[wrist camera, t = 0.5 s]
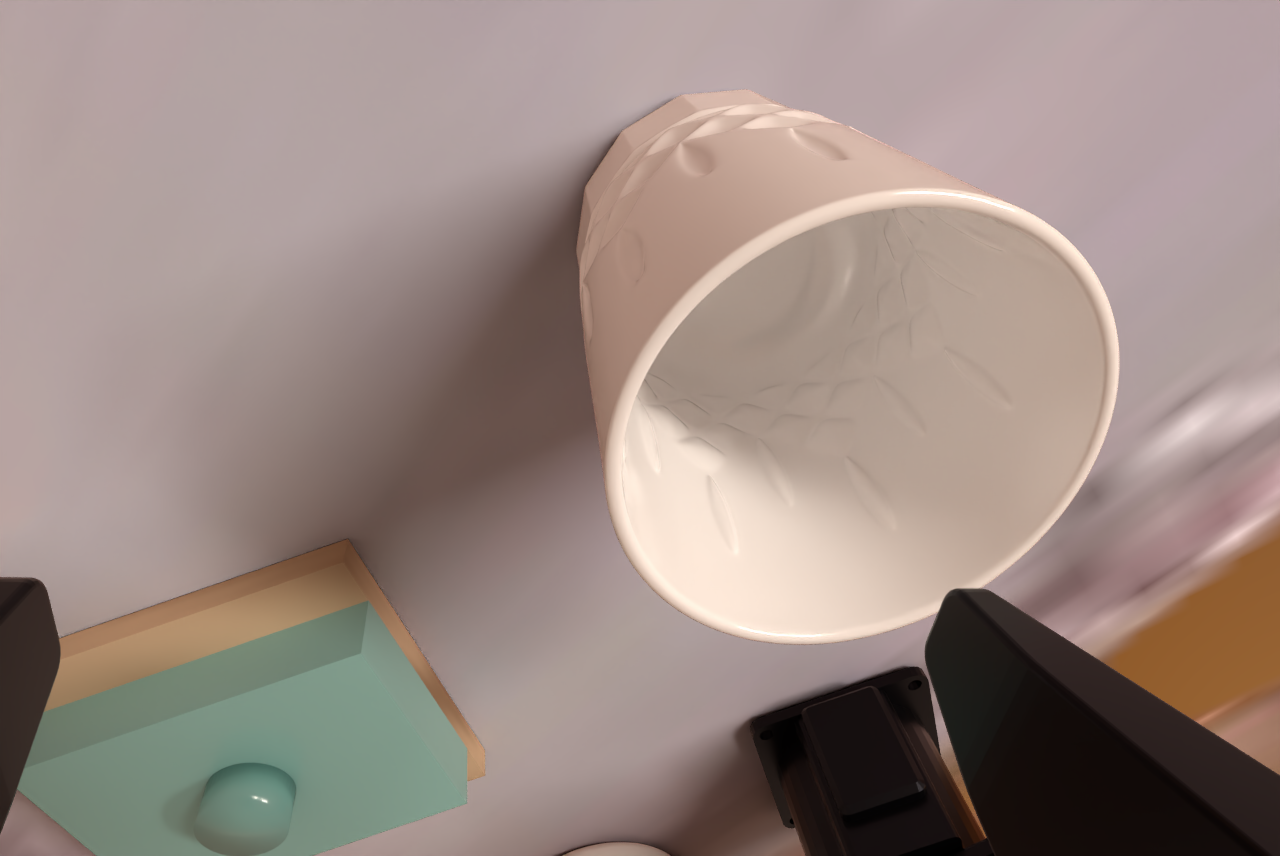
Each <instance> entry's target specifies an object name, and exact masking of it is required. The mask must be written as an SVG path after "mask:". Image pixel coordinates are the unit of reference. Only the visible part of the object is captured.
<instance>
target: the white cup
mask: <svg viewBox="0 0 1280 856" xmlns="http://www.w3.org/2000/svg"><path fill="white" fill-rule="evenodd" d="M576 254H577V260H578V265H579V270H580V308H581V315H582V321H583V337H584V347H585V355H586V363H587V370H588V376H589V383H590V389H591V396H592V402H593V409H594V416H595V422H596V429H597V435H598V442H599V449H600V456H601V463H602V470H603V478H604V485H605V492H606V499H607V505H608V509H609V513H610V517H611V521H612V524H613V527H614V530H615V533H616V535H617V538H618V540H619V542H620V544H621V546H622V548H623V550H624V552H625V554H626V556H627V557H628V559H629V561H630V562H631V564H632V565H633V567H634V568H635V570H636V571H637V572H638V574H639V575H640V576H641V577H642V579H643V580H644V581H645V582H646V583H647V584H648V585H649V586H650V587H651V589H652V590H653V591H655V592H656V593H657V594H658V595H659V596H660V597H661V598H662V599H663V600H665V601H666V602H667V603H668V604H670V605H671V606H672V607H674V608H675V609H677V610H678V611H680V612H681V613H683V614H685V615H686V616H688V617H690V618H691V619H693V620H695V621H697V622H699V623H701V624H703V625H706V626H708V627H710V628H713V629H715V630H718V631H721V632H723V633H727V634H730V635H733V636H737V637H741V638H745V639H749V640H754V641H760V642H767V643H775V644H789V645H812V644H827V643H836V642H844V641H850V640H855V639H860V638H865V637H870V636H874V635H878V634H881V633H885V632H888V631H891V630H895V629H898V628H901V627H904V626H906V625H909V624H912V623H914V622H917V621H919V620H922V619H924V618H926V617H929V616H931V615H933V614H935V613H937V612H938V611H939V609H940V606H941V604H942V601H943V599H944V597H945V595H946V594H947V593H948V592H949V591H950V590H952V589H956V588H982V587H983V586H985V585H986V584H988V583H989V582H990V581H992V580H993V579H995V578H996V577H997V576H999V575H1000V574H1001V573H1003V572H1004V571H1005V570H1006V569H1008V568H1009V567H1010V566H1011V565H1013V564H1014V563H1015V562H1016V561H1017V560H1019V559H1020V558H1021V557H1022V556H1023V555H1024V554H1025V553H1026V552H1027V551H1028V550H1030V549H1031V548H1032V547H1033V546H1034V545H1035V544H1036V543H1037V542H1038V541H1039V540H1040V539H1041V538H1042V536H1043V535H1044V534H1045V533H1046V532H1047V531H1048V530H1049V529H1050V528H1051V527H1052V525H1053V524H1054V523H1055V522H1056V521H1057V519H1058V518H1059V517H1060V516H1061V515H1062V513H1063V512H1064V511H1065V509H1066V508H1067V507H1068V505H1069V504H1070V503H1071V501H1072V500H1073V498H1074V497H1075V495H1076V494H1077V492H1078V491H1079V489H1080V488H1081V486H1082V484H1083V483H1084V481H1085V479H1086V478H1087V476H1088V474H1089V472H1090V470H1091V468H1092V467H1093V465H1094V463H1095V461H1096V458H1097V456H1098V454H1099V452H1100V450H1101V447H1102V445H1103V442H1104V440H1105V437H1106V434H1107V431H1108V428H1109V425H1110V422H1111V418H1112V415H1113V411H1114V406H1115V401H1116V396H1117V389H1118V380H1119V344H1118V336H1117V330H1116V325H1115V320H1114V316H1113V313H1112V310H1111V307H1110V304H1109V301H1108V298H1107V296H1106V294H1105V291H1104V289H1103V287H1102V285H1101V283H1100V281H1099V279H1098V278H1097V276H1096V274H1095V273H1094V271H1093V269H1092V268H1091V267H1090V265H1089V264H1088V262H1087V261H1086V260H1085V258H1084V257H1083V256H1082V255H1081V253H1080V252H1079V251H1078V250H1077V249H1076V248H1075V247H1074V246H1073V245H1072V244H1071V243H1070V242H1069V241H1068V240H1067V239H1066V238H1065V237H1064V236H1063V235H1062V234H1061V233H1059V232H1058V231H1057V230H1056V229H1054V228H1053V227H1052V226H1050V225H1049V224H1047V223H1046V222H1044V221H1043V220H1041V219H1040V218H1038V217H1036V216H1035V215H1033V214H1031V213H1029V212H1027V211H1025V210H1023V209H1021V208H1019V207H1017V206H1015V205H1013V204H1011V203H1008V202H1006V201H1004V200H1002V199H1000V198H998V197H996V196H994V195H991V194H989V193H987V192H985V191H983V190H981V189H979V188H977V187H974V186H972V185H970V184H968V183H966V182H964V181H962V180H960V179H957V178H955V177H953V176H951V175H949V174H947V173H945V172H943V171H941V170H939V169H937V168H935V167H933V166H931V165H929V164H927V163H925V162H922V161H920V160H918V159H916V158H914V157H912V156H910V155H908V154H905V153H903V152H901V151H899V150H897V149H895V148H893V147H891V146H889V145H887V144H885V143H883V142H881V141H879V140H876V139H874V138H872V137H870V136H868V135H866V134H864V133H862V132H860V131H858V130H856V129H854V128H852V127H850V126H846V125H843V124H840V123H838V122H835V121H832V120H830V119H828V118H826V117H823V116H821V115H819V114H816V113H813V112H809V111H804V110H797V109H792V108H789V107H787V106H785V105H783V104H780V103H778V102H776V101H773V100H771V99H769V98H767V97H764V96H762V95H760V94H757V93H755V92H753V91H751V90H748V89H742V90H731V91H720V92H708V93H697V94H686V95H680V96H678V97H676V98H675V99H673V100H672V101H670V102H668V103H667V104H665V105H663V106H662V107H660V108H658V109H657V110H655V111H654V112H652V113H650V114H649V115H647V116H645V117H644V118H642V119H640V120H639V121H637V122H636V123H634V124H632V125H631V126H629V127H627V128H626V129H624V130H623V131H622V132H621V133H620V135H619V136H618V138H617V139H616V141H615V142H614V144H613V145H612V147H611V148H610V150H609V151H608V153H607V154H606V156H605V157H604V159H603V160H602V162H601V163H600V165H599V166H598V168H597V169H596V171H595V172H594V174H593V175H592V177H591V178H590V180H589V181H588V183H587V185H586V186H585V190H584V197H583V204H582V211H581V218H580V225H579V232H578V239H577V247H576Z"/></svg>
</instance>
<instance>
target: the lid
mask: <svg viewBox="0 0 1280 856" xmlns="http://www.w3.org/2000/svg"><path fill="white" fill-rule="evenodd" d="M17 790H19V791H20V792H21V793H22V794H23V795H24V796H26V797H27V798H28V799H29V800H30V801H32V802H33V803H34V804H35V805H36V806H38V807H39V808H40V809H41V810H42V811H44V812H45V813H46V814H47V815H48V816H50V817H51V818H52V819H53V820H54V821H55V822H57V823H58V824H59V825H60V826H61V827H63V828H64V829H65V830H66V831H67V832H69V833H70V834H71V835H72V836H73V837H75V838H76V839H77V840H78V841H79V842H80V843H82V844H83V845H84V846H85V847H86V848H88V849H89V850H90V851H91V852H92V853H94V854H95V855H96V856H313V855H316V854H319V853H322V852H325V851H328V850H331V849H334V848H337V847H340V846H343V845H346V844H349V843H352V842H355V841H358V840H361V839H363V838H366V837H369V836H372V835H375V834H378V833H381V832H384V831H387V830H390V829H393V828H396V827H399V826H402V825H405V824H408V823H411V822H414V821H417V820H420V819H423V818H426V817H429V816H432V815H435V814H437V813H440V812H443V811H446V810H449V809H452V808H455V807H458V806H461V805H464V804H467V747H466V746H465V744H464V743H463V741H462V740H461V738H460V737H459V735H458V734H457V732H456V731H455V729H454V728H453V726H452V725H451V723H450V722H449V720H448V719H447V717H446V716H445V714H444V713H443V711H442V710H441V708H440V707H439V705H438V704H437V702H436V701H435V699H434V698H433V696H432V695H431V693H430V692H429V690H428V689H427V687H426V686H425V684H424V683H423V681H422V680H421V678H420V677H419V675H418V674H417V672H416V671H415V669H414V668H413V666H412V665H411V663H410V662H409V660H408V659H407V657H406V656H405V654H404V653H403V651H402V650H401V648H400V647H399V645H398V644H397V642H396V641H395V639H394V638H393V636H392V635H391V633H390V632H389V630H388V629H387V627H386V626H385V624H384V623H383V621H382V620H381V618H380V617H379V615H378V613H377V612H376V610H375V609H374V607H373V606H372V604H371V603H370V601H369V600H368V601H365V602H362V603H359V604H356V605H353V606H351V607H348V608H345V609H342V610H339V611H336V612H333V613H330V614H327V615H324V616H321V617H319V618H316V619H313V620H310V621H307V622H304V623H301V624H298V625H295V626H292V627H289V628H287V629H284V630H281V631H278V632H275V633H272V634H269V635H266V636H263V637H260V638H257V639H255V640H252V641H249V642H246V643H243V644H240V645H237V646H234V647H231V648H228V649H225V650H222V651H220V652H217V653H214V654H211V655H208V656H205V657H202V658H199V659H196V660H193V661H190V662H188V663H185V664H182V665H179V666H176V667H173V668H170V669H167V670H164V671H161V672H158V673H156V674H153V675H150V676H147V677H144V678H141V679H138V680H135V681H132V682H129V683H126V684H124V685H121V686H118V687H115V688H112V689H109V690H106V691H103V692H100V693H97V694H94V695H92V696H89V697H86V698H83V699H80V700H77V701H74V702H71V703H68V704H65V705H62V706H60V707H57V708H54V709H51V710H48V711H45V712H44V713H43V716H42V719H41V722H40V724H39V727H38V730H37V733H36V736H35V739H34V742H33V745H32V747H31V750H30V753H29V756H28V759H27V762H26V765H25V768H24V770H23V773H22V776H21V779H20V782H19V785H18V788H17Z"/></svg>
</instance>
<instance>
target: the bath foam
mask: <svg viewBox="0 0 1280 856" xmlns="http://www.w3.org/2000/svg"><path fill="white" fill-rule="evenodd" d="M562 856H671V855H669V854H668V853H666V852H664V851H662V850H660V849H658V848H655V847H652V846H649V845H645V844H639V843H631V842H611V843H602V844H596V845H591V846H587V847H584V848H580V849H577V850H574V851H572V852H569V853H567V854H565V855H562Z"/></svg>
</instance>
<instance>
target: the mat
mask: <svg viewBox="0 0 1280 856" xmlns="http://www.w3.org/2000/svg"><path fill="white" fill-rule="evenodd" d="M368 600H369V601H370V603H371V604H372V606H373V607H374V609H375V610H376V612H377V613H378V615H379V617H380V618H381V620H382V621H383V623H384V624H385V626H386V627H387V629H388V630H389V632H390V633H391V635H392V636H393V638H394V639H395V641H396V642H397V644H398V645H399V647H400V648H401V650H402V651H403V653H404V654H405V656H406V657H407V659H408V660H409V662H410V663H411V665H412V666H413V668H414V669H415V671H416V672H417V674H418V675H419V677H420V678H421V680H422V681H423V683H424V684H425V686H426V687H427V689H428V690H429V692H430V693H431V695H432V696H433V698H434V699H435V701H436V702H437V704H438V705H439V707H440V708H441V710H442V711H443V713H444V714H445V716H446V717H447V719H448V720H449V722H450V723H451V725H452V726H453V728H454V729H455V731H456V732H457V734H458V735H459V737H460V738H461V740H462V741H463V743H464V744H465V746H466V747H467V781H470V780H473V779H476V778H479V777H482V776H485V750H484V749H483V747H482V745H481V744H480V742H479V741H478V739H477V738H476V736H475V735H474V733H473V732H472V730H471V728H470V727H469V725H468V724H467V722H466V721H465V719H464V718H463V716H462V715H461V713H460V711H459V710H458V708H457V707H456V705H455V704H454V702H453V701H452V699H451V698H450V696H449V694H448V693H447V691H446V690H445V688H444V687H443V685H442V684H441V682H440V681H439V679H438V677H437V676H436V674H435V673H434V671H433V670H432V668H431V667H430V665H429V664H428V662H427V660H426V659H425V657H424V656H423V654H422V653H421V651H420V650H419V648H418V647H417V645H416V643H415V642H414V640H413V639H412V637H411V636H410V634H409V633H408V631H407V630H406V628H405V626H404V625H403V623H402V622H401V620H400V619H399V617H398V616H397V614H396V613H395V611H394V609H393V608H392V606H391V605H390V603H389V602H388V600H387V599H386V597H385V596H384V594H383V592H382V591H381V589H380V588H379V586H378V585H377V583H376V582H375V580H374V579H373V577H372V575H371V574H370V572H369V571H368V569H367V568H366V566H365V565H364V563H363V562H362V560H361V558H360V557H359V555H358V554H357V552H356V551H355V549H354V548H353V546H352V545H351V543H350V541H349V540H348V539H346V540H343V541H340V542H337V543H334V544H332V545H329V546H326V547H323V548H320V549H317V550H314V551H311V552H308V553H306V554H303V555H300V556H297V557H294V558H291V559H288V560H285V561H282V562H279V563H277V564H274V565H271V566H268V567H265V568H262V569H259V570H256V571H253V572H250V573H248V574H245V575H242V576H239V577H236V578H233V579H230V580H227V581H224V582H222V583H219V584H216V585H213V586H210V587H207V588H204V589H201V590H198V591H195V592H193V593H190V594H187V595H184V596H181V597H178V598H175V599H172V600H169V601H166V602H164V603H161V604H158V605H155V606H152V607H149V608H146V609H143V610H140V611H138V612H135V613H132V614H129V615H126V616H123V617H120V618H117V619H114V620H111V621H109V622H106V623H103V624H100V625H97V626H94V627H91V628H88V629H85V630H82V631H80V632H77V633H74V634H71V635H68V636H65V637H62V638H59V641H60V647H61V657H60V664H59V669H58V673H57V676H56V679H55V681H54V684H53V687H52V690H51V693H50V696H49V699H48V701H47V704H46V707H45V710H44V712H45V711H48V710H51V709H54V708H57V707H60V706H62V705H65V704H68V703H71V702H74V701H77V700H80V699H83V698H86V697H89V696H92V695H94V694H97V693H100V692H103V691H106V690H109V689H112V688H115V687H118V686H121V685H124V684H126V683H129V682H132V681H135V680H138V679H141V678H144V677H147V676H150V675H153V674H156V673H158V672H161V671H164V670H167V669H170V668H173V667H176V666H179V665H182V664H185V663H188V662H190V661H193V660H196V659H199V658H202V657H205V656H208V655H211V654H214V653H217V652H220V651H222V650H225V649H228V648H231V647H234V646H237V645H240V644H243V643H246V642H249V641H252V640H255V639H257V638H260V637H263V636H266V635H269V634H272V633H275V632H278V631H281V630H284V629H287V628H289V627H292V626H295V625H298V624H301V623H304V622H307V621H310V620H313V619H316V618H319V617H321V616H324V615H327V614H330V613H333V612H336V611H339V610H342V609H345V608H348V607H351V606H353V605H356V604H359V603H362V602H365V601H368Z"/></svg>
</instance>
